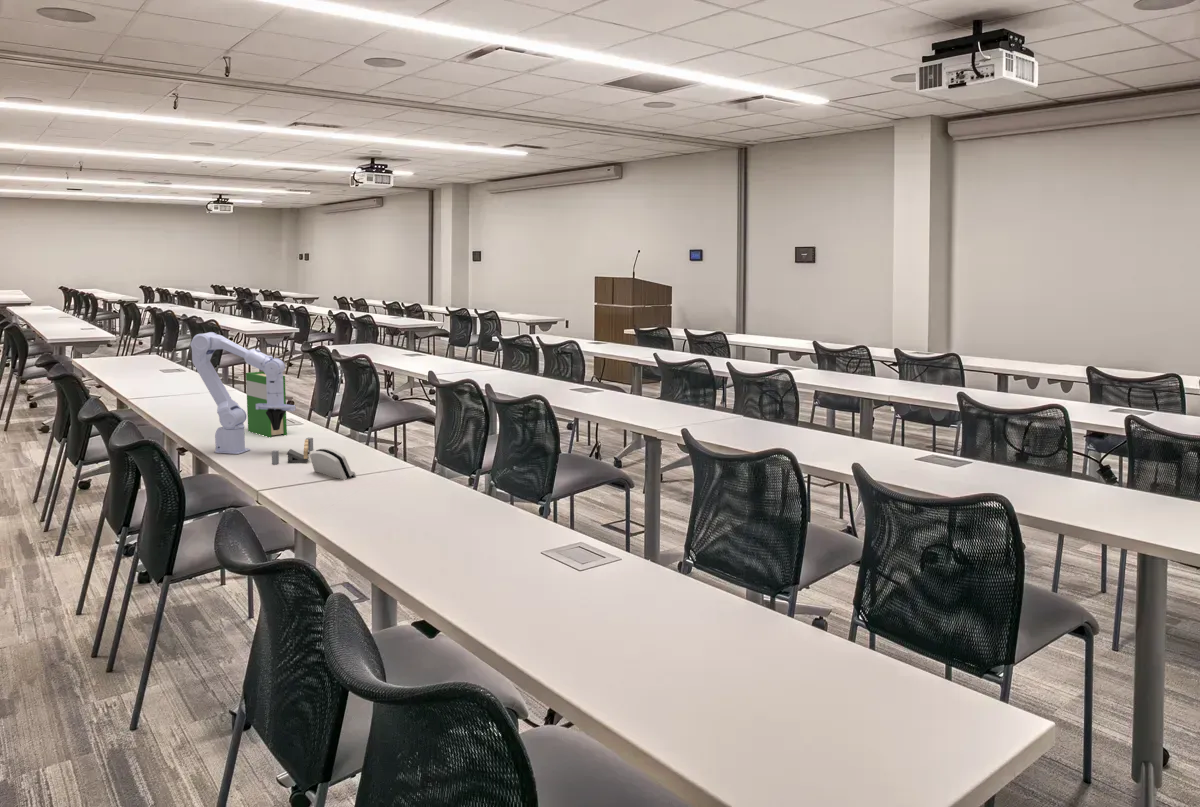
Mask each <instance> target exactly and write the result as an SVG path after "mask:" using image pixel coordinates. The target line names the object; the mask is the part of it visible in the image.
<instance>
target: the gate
mask: <svg viewBox="0 0 1200 807" xmlns="http://www.w3.org/2000/svg"><path fill="white" fill-rule="evenodd" d="M303 445H304V446H303V455H304V459H308V458H309V455H310V454H311V451H308V448H309V444H308V439H306V438H305V439H304V444H303Z"/></svg>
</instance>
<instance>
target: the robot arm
mask: <svg viewBox="0 0 1200 807" xmlns="http://www.w3.org/2000/svg"><path fill="white" fill-rule="evenodd" d="M189 345H190V348H191V362H192V364H193V366H194V367H195V369H196V372H197V373H198V374H199V376H200V378H201V380H202V382H203V383H204V385H205V387H206V388H207V390H208V392H209V394H210V396H211V397H212V399H213V400H214V403H215V404H216V406H217V409H216V413H217V414H218V418H219V420H218V421H219V423H220V425H221V426H219V427H218V428H216V430H215V435H214V437H215V440H214V441H215V444H214V445H215V450H214V453H217V454H231V455H233V454H234V455H239V454H243V453H246V452H248V451H250V450H251V448H248V447H246V437H245V436H246V435H245V425H244V423H246V420H247V418H248V415H247V413H246V412H247V411H245V410H244V408H242V407H240V405H239V403H238V402H236V400H233V399H232V397H231V395H230V393H229V392H228V390H227V388H226V387H225V384H224V383H223V381H222V379H221V378H220V376H219V374H218V373H217V371H216V368H215V367H214V365H213V363H212V362H211V359H212V357H213V354H214V353H215V351H217V350H225V351H227V352H229V353H231V354H233V355H235V356H238V357H241V358H242V359H244V362H245V363H246V364H248V365H249V366H252V367H254V368H256V369H258V370H259V371H261V372H264V373H265V374H266V389H267V403H258V404H256V409H266V410H267V411H266V414H267V416H268V418H269V419H270V422H271V424H272V427H273V430H279V429H280V424H281V421H282V418H283V416H284V414H285V412H286V413H287V412H296V405H295V404H289V403H288V404H287V403H286V404H284V390H283V376H284V373H283V372H285V369H286V364H285V362H284V361H283V360H282V359H280V358H278V357H277V358H276V357H275V358H273V355H268V354H266V353H264V352H261V349H259V348H256V349H255V348H251V349H247V348H246V347H243V346H242V345H239V344H238V343H236V342H234V341H232V340H230V339H229V338H227V337H225V336H224V335H221V334H217V333H216V332H213V331H209V332H206V333H205V332H204V333H198V334H195V335H194V336H193V338H192V339H191V342H190V344H189ZM277 408H279V409H277Z"/></svg>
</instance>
